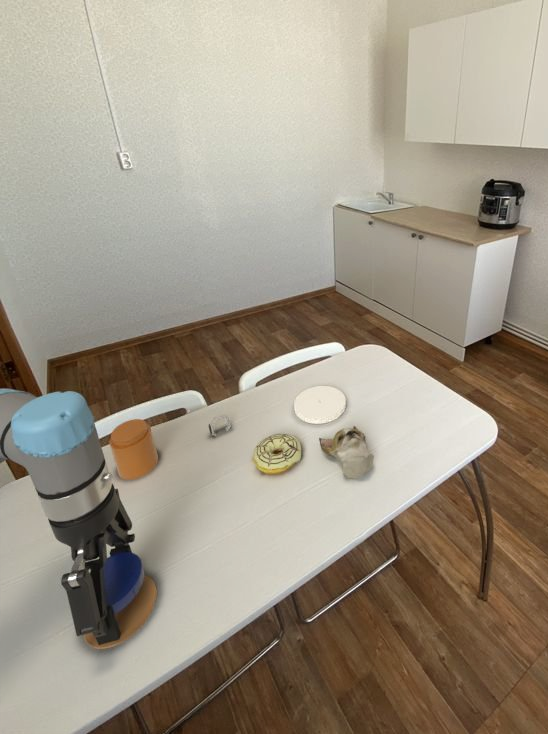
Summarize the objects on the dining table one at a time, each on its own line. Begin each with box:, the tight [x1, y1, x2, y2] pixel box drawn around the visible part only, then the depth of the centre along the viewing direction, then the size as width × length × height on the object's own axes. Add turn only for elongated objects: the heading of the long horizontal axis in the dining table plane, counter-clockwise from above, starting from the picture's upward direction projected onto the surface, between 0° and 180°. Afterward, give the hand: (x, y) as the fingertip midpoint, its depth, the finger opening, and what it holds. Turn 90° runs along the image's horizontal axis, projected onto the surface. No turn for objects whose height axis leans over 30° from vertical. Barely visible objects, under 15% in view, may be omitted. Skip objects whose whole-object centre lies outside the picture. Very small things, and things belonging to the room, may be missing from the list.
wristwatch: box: [208, 414, 232, 437], centre depth 96 cm, size 3×5×5 cm, turn 127°
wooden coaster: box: [83, 574, 158, 650], centre depth 60 cm, size 10×10×1 cm
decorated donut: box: [252, 433, 302, 476], centre depth 88 cm, size 10×11×4 cm
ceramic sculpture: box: [318, 425, 375, 479], centre depth 87 cm, size 11×9×15 cm
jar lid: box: [104, 552, 145, 614], centre depth 58 cm, size 8×8×2 cm
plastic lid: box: [293, 385, 347, 425], centre depth 104 cm, size 14×14×2 cm
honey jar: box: [108, 418, 159, 481], centre depth 85 cm, size 8×8×11 cm
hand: (119, 605), depth 60 cm, fingers closed on jar lid, 8 cm apart
